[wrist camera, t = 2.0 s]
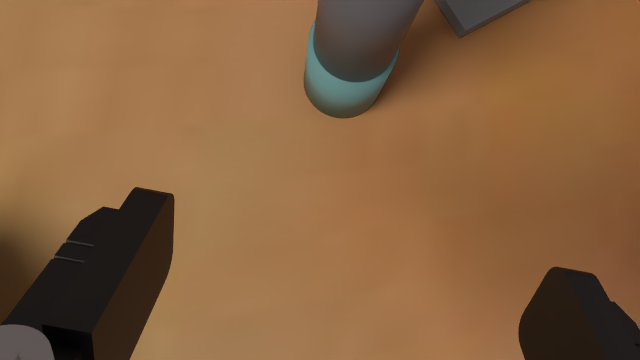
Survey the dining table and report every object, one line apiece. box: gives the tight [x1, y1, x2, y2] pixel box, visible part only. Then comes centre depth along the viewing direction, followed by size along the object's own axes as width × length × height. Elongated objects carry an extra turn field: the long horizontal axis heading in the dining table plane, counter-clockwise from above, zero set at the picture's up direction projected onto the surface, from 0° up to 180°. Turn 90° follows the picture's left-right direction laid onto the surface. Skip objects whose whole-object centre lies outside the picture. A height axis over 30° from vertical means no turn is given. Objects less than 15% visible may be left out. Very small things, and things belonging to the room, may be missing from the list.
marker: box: [304, 0, 424, 118], centre depth 23 cm, size 5×5×16 cm
